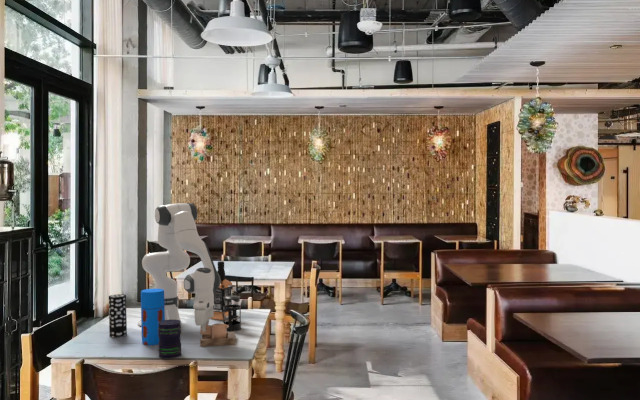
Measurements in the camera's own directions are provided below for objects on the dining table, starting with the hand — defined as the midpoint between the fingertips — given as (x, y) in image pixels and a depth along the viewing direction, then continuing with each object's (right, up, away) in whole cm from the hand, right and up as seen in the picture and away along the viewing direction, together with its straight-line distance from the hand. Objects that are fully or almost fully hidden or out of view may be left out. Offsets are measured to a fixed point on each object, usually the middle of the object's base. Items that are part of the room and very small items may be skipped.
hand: (205, 330), depth 286 cm
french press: (+10, -5, +24) cm, 26 cm away
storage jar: (-11, -6, -23) cm, 26 cm away
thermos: (-25, -6, 0) cm, 25 cm away
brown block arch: (+6, -5, -1) cm, 8 cm away
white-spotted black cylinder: (-47, -6, +13) cm, 49 cm away
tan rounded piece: (+5, -5, 0) cm, 7 cm away
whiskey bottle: (0, -4, +50) cm, 50 cm away
